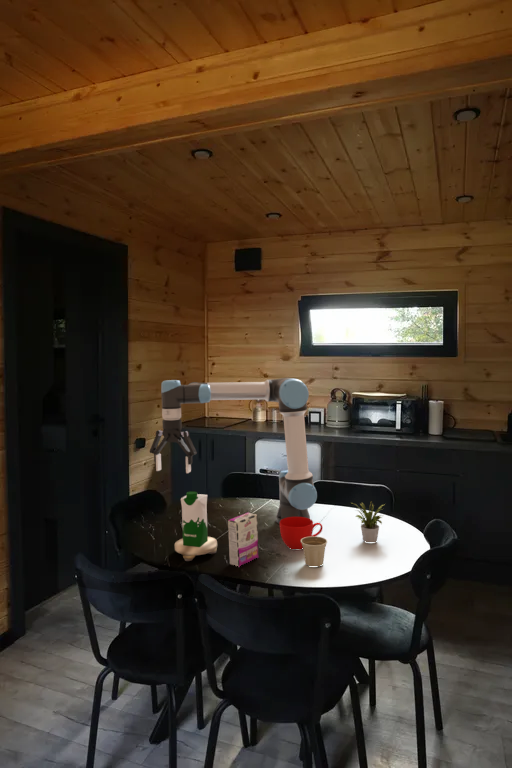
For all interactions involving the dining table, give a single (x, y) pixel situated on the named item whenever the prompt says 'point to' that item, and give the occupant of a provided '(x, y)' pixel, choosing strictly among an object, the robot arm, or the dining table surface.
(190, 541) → the soya milk
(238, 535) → the candy bar box
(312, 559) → the flower pot
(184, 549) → the stand
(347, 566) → the dining table surface
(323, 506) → the dining table surface
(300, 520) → the ceramic cup
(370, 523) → the house plant
